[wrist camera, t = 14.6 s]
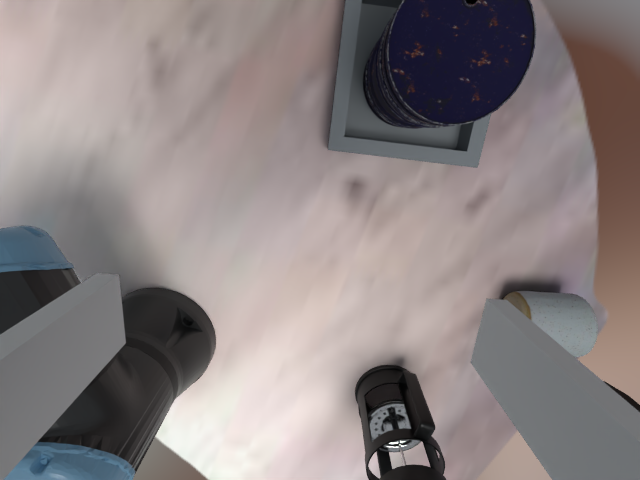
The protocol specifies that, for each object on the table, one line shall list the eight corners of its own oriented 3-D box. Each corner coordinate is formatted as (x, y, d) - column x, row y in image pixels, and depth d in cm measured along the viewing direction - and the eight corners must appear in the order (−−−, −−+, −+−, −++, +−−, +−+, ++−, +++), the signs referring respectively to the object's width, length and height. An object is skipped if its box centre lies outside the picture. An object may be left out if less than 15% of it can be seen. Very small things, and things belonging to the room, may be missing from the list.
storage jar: (442, 134, 38) (512, 135, 24) (355, 123, 38) (374, 118, 24) (463, 33, 35) (559, -33, 21) (369, 21, 35) (401, -55, 21)
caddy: (327, 148, 39) (328, 149, 36) (346, -13, 35) (349, -31, 31) (462, 164, 40) (477, 167, 36) (500, 7, 35) (521, -9, 31)
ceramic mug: (501, 280, 44) (535, 310, 37) (563, 283, 44) (610, 314, 37) (484, 348, 48) (512, 388, 40) (542, 351, 48) (581, 391, 41)
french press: (401, 426, 52) (457, 642, 30) (344, 409, 51) (359, 618, 29) (434, 366, 49) (525, 560, 27) (374, 347, 48) (416, 531, 26)
